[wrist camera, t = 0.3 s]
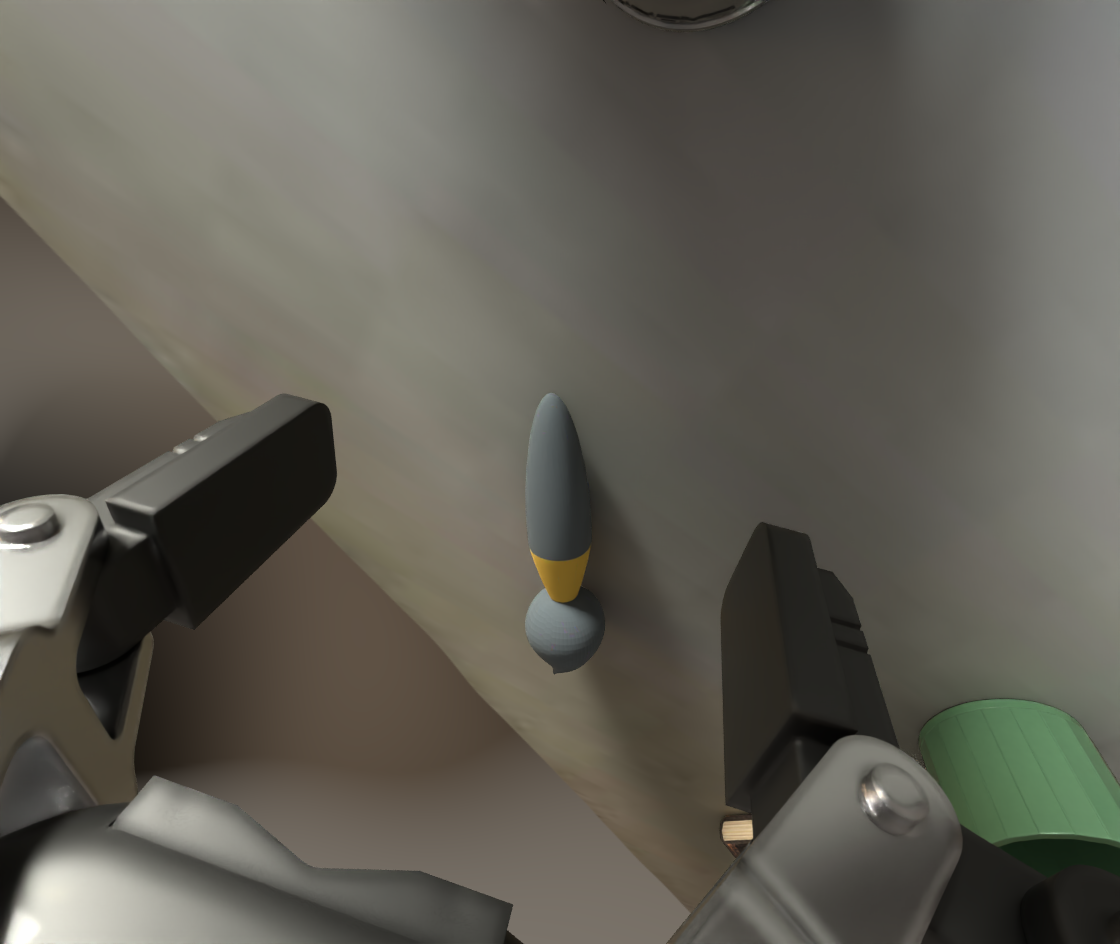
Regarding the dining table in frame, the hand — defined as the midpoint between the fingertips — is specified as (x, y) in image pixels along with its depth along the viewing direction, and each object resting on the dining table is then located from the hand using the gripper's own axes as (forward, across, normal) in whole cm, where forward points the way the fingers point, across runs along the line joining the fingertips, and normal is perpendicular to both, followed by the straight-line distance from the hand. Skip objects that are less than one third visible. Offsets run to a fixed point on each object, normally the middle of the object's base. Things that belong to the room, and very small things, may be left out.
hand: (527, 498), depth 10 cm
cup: (+17, -29, +22) cm, 41 cm away
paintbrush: (+18, +1, +16) cm, 23 cm away
